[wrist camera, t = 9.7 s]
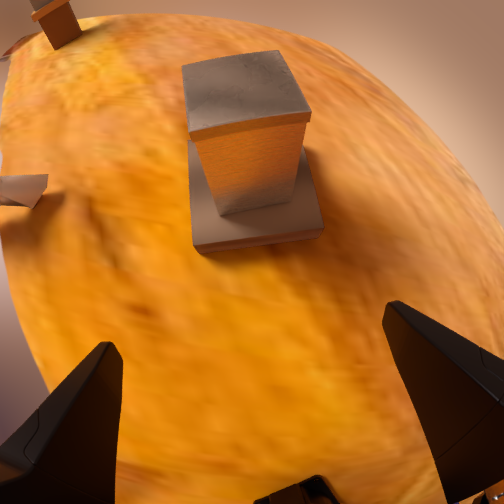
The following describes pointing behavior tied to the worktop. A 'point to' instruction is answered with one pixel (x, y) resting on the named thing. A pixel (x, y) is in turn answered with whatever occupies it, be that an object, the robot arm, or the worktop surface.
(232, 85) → the tin
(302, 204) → the block
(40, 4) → the knife
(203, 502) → the worktop surface
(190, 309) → the worktop surface
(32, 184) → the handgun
